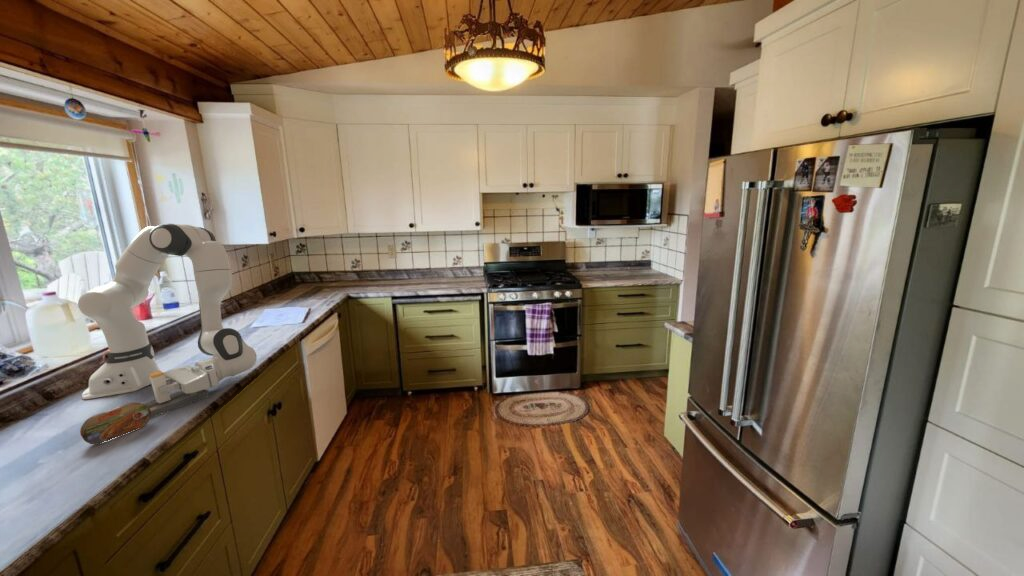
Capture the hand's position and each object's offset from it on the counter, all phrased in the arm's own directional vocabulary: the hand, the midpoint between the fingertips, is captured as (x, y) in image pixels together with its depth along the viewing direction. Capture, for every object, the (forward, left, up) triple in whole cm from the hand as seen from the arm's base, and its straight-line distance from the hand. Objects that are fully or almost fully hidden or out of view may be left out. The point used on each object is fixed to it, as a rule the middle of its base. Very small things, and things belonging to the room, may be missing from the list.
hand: (156, 388), depth 133 cm
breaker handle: (+1, 0, -5) cm, 5 cm away
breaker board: (+2, +1, -7) cm, 8 cm away
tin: (-8, -13, -7) cm, 17 cm away
